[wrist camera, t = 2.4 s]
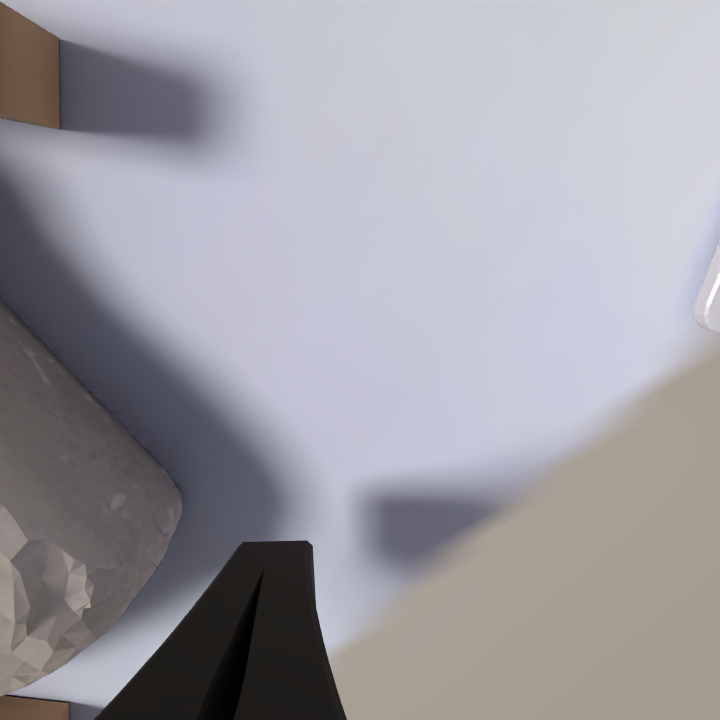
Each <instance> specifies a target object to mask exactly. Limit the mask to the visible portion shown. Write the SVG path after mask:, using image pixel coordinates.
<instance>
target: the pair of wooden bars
mask: <svg viewBox="0 0 720 720" xmlns="http://www.w3.org/2000/svg"><path fill="white" fill-rule="evenodd" d="M0 118H3V119H8V120H13V121H18V122H23V123H29V124H34V125H39V126H44V127H49V128H55V129H60V93H59V38H58V37H56V36H55V35H53V34H51V33H50V32H48V31H47V30H45V29H43V28H42V27H40V26H38V25H37V24H35V23H34V22H32V21H30V20H29V19H27V18H26V17H24V16H22V15H21V14H19V13H18V12H16V11H14V10H13V9H11V8H9V7H8V6H6V5H5V4H3V3H1V2H0ZM0 720H69V703H63V702H54V701H45V700H36V699H27V698H18V697H9V696H1V697H0Z"/></svg>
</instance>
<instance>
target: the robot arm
mask: <svg viewBox="0 0 720 720" xmlns="http://www.w3.org/2000/svg"><path fill="white" fill-rule="evenodd" d="M693 315H694V319H695V322H696V323H697V324H698V325H699V326H700V327H701V328H704V329H706V330H709V331H712V332H715V333H718V334H720V242H719V244H718V247H717V249H716V252H715V254H714V257H713V259H712V262H711V264H710V267H709V269H708V272H707V274H706V277H705V279H704V282H703V284H702V287H701V289H700V292H699V294H698V297H697V299H696V302H695V305H694V310H693ZM94 720H347V719H346V716H345V713H344V710H343V707H342V704H341V701H340V698H339V694H338V691H337V688H336V684H335V681H334V678H333V674H332V671H331V667H330V664H329V661H328V657H327V653H326V649H325V645H324V642H323V637H322V633H321V628H320V624H319V619H318V615H317V610H316V599H315V581H314V563H313V546H312V545H311V544H310V543H309V542H308V541H268V542H243V543H242V544H241V545H240V546H239V547H238V548H237V550H236V551H235V552H234V554H233V555H232V556H231V558H230V559H229V560H228V562H227V563H226V564H225V566H224V567H223V569H222V570H221V571H220V573H219V574H218V575H217V577H216V578H215V579H214V581H213V582H212V583H211V584H210V586H209V587H208V588H207V590H206V591H205V592H204V594H203V595H202V596H201V597H200V599H199V600H198V601H197V602H196V604H195V605H194V606H193V607H192V609H191V610H190V611H189V612H188V614H187V615H186V616H185V617H184V618H183V620H182V621H181V622H180V623H179V625H178V626H177V627H176V628H175V630H174V631H173V632H172V633H171V634H170V636H169V637H168V638H167V639H166V640H165V642H164V643H163V644H162V645H161V646H160V647H159V649H158V650H157V651H156V652H155V653H154V654H153V655H152V656H151V658H150V659H149V660H148V661H147V662H146V663H145V664H144V665H143V667H142V668H141V669H140V670H139V671H138V672H137V673H136V674H135V676H134V677H133V678H132V679H131V680H130V681H129V682H128V683H127V685H126V686H125V687H124V688H123V689H122V690H121V691H120V692H119V693H118V695H117V696H116V697H115V698H114V699H113V700H112V701H111V702H110V703H109V704H108V705H107V706H106V707H105V708H104V709H103V710H102V711H101V713H100V714H99V715H98V716H97V717H96V718H95V719H94Z"/></svg>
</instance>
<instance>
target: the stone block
mask: <svg viewBox="0 0 720 720" xmlns="http://www.w3.org/2000/svg"><path fill="white" fill-rule="evenodd" d="M182 508H183V499H182V494H181V492H180V491H179V490H178V488H177V487H176V485H175V483H174V481H173V480H172V478H171V477H170V476H169V474H168V473H167V472H166V471H165V469H164V468H163V467H162V466H161V465H160V464H159V463H158V462H157V461H156V460H155V459H154V458H153V457H152V456H151V455H150V454H149V453H148V452H147V451H146V450H145V449H144V448H143V447H142V446H141V445H140V444H139V443H138V442H137V441H136V440H135V439H134V437H133V436H132V435H131V434H130V433H129V432H128V431H127V430H126V429H125V428H124V427H123V426H122V425H121V423H120V422H119V421H118V420H117V419H116V418H115V417H113V416H112V415H111V414H110V413H109V412H108V411H107V410H106V409H105V408H104V407H103V406H102V405H101V404H100V403H99V401H98V400H97V399H96V398H95V397H94V396H93V395H92V394H91V393H90V392H89V391H88V390H87V389H86V388H85V387H84V386H83V385H82V384H81V383H80V382H79V381H78V380H77V378H76V377H75V376H74V375H73V374H72V373H71V372H70V371H69V370H68V369H67V368H66V367H65V366H64V365H63V364H62V363H61V362H60V361H59V360H58V359H57V358H56V357H55V356H54V355H53V354H52V353H51V352H50V351H49V350H48V349H47V348H46V347H45V346H44V345H43V344H42V342H41V341H40V340H39V339H38V338H37V337H36V336H35V335H34V334H33V333H32V332H31V331H30V330H29V329H28V328H27V327H26V326H25V325H24V324H23V323H22V322H21V321H20V320H19V319H18V318H17V317H16V316H15V315H14V314H13V313H12V312H11V311H10V310H9V309H8V308H7V307H6V305H5V304H4V303H3V302H2V301H1V300H0V697H1V696H4V695H6V694H9V693H11V692H14V691H16V690H18V689H21V688H23V687H26V686H28V685H30V684H31V683H33V682H35V681H37V680H38V679H40V678H42V677H44V676H46V675H49V674H50V673H52V672H54V671H55V670H57V669H58V668H60V667H62V666H63V665H65V664H66V663H68V662H69V661H70V660H71V659H73V658H74V657H75V656H76V655H77V654H79V653H80V652H81V651H82V650H84V649H85V648H87V647H88V646H89V645H91V644H92V643H94V642H95V641H96V640H98V639H99V638H100V637H101V636H102V635H104V634H105V633H106V632H107V631H108V630H109V629H111V628H112V627H113V626H114V625H115V624H116V622H117V621H118V620H119V619H120V618H121V617H122V615H123V614H124V612H125V611H126V609H127V608H128V606H129V605H130V603H131V602H132V600H133V599H134V597H135V596H136V594H137V593H138V592H139V591H140V590H141V589H142V587H143V586H144V585H145V584H146V583H147V581H148V580H149V579H150V578H151V576H152V575H153V574H154V572H155V571H156V569H157V568H158V566H159V564H160V563H161V561H162V559H163V558H164V556H165V554H166V552H167V549H168V546H169V544H170V541H171V539H172V536H173V534H174V532H175V530H176V527H177V525H178V523H179V520H180V518H181V515H182Z"/></svg>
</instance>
